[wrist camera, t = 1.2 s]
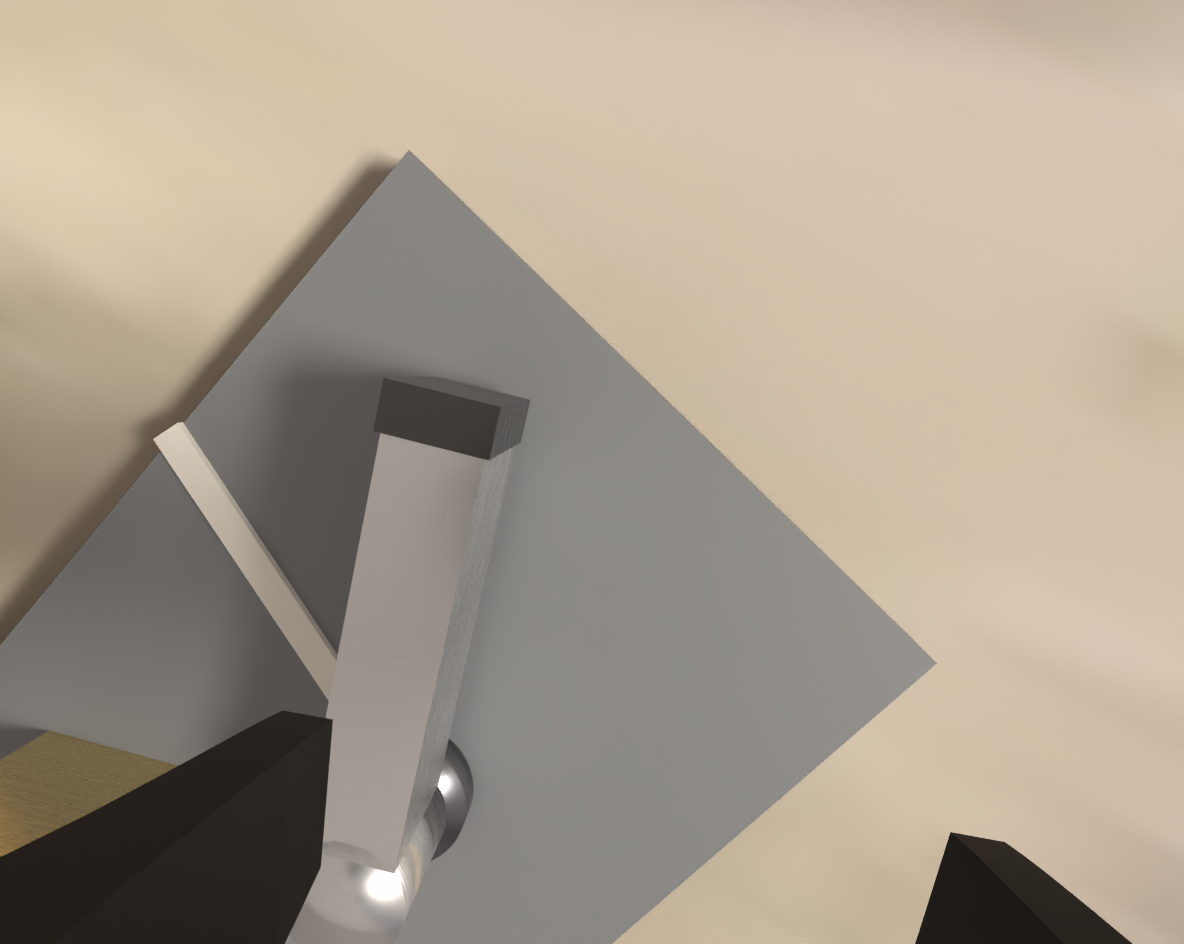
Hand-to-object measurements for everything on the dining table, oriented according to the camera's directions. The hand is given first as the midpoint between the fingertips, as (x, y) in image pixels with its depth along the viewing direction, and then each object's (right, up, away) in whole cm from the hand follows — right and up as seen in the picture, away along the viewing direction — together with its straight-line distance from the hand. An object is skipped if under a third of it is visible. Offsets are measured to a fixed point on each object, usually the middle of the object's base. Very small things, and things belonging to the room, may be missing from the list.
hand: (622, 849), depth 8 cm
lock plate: (-6, -2, +11) cm, 13 cm away
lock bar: (-4, 0, +9) cm, 10 cm away
